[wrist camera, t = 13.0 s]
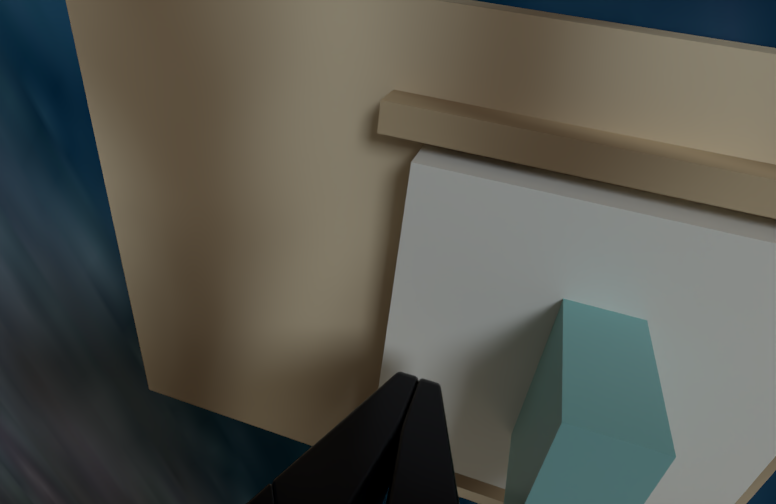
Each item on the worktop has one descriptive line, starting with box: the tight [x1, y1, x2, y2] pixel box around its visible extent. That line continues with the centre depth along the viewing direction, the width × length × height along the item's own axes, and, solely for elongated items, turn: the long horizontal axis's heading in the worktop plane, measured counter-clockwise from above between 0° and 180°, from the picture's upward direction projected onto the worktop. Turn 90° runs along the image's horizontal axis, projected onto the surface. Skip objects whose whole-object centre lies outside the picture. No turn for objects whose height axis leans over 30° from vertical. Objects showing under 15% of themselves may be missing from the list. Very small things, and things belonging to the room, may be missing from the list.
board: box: [66, 0, 776, 504], centre depth 11 cm, size 27×13×2 cm, turn 83°
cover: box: [378, 144, 776, 504], centre depth 10 cm, size 8×8×4 cm
